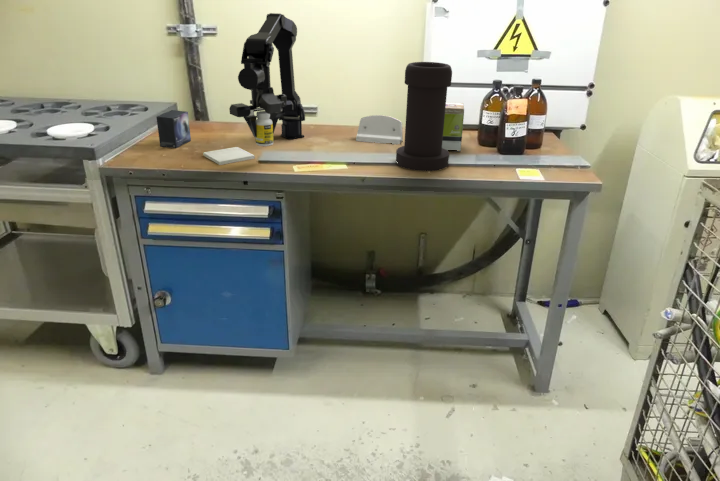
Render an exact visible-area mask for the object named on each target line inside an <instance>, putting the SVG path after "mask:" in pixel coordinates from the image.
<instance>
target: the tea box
mask: <svg viewBox="0 0 720 481" xmlns="http://www.w3.org/2000/svg"><path fill="white" fill-rule="evenodd" d="M464 106H465V105H464V103H463V102H446V108H445V119H444V130H443V141H442V148H443V149H446V150H447V151H448V150H457V151H456V152H462V150H461V149H462V140H463V130H464V119H465V118H464V117H465V107H464ZM458 150H459V151H458Z"/></svg>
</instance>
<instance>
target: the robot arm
mask: <svg viewBox="0 0 720 481" xmlns="http://www.w3.org/2000/svg"><path fill="white" fill-rule="evenodd" d="M297 35H298V27H297V25H296V23H295V22H294V21H293V20H292V19H290V18H288V17H286V16H285V14H282V13H275V12H273V13H272V12H270V13H267V14H266V19H265V21H264V23H263V24H262V25H261V27H260V28H259V30H258V32H257V33H253V34H251V35H250V36H248V37H247V38H246V40H245V42H244V43H243V48H242V54H241V60H240V64H241V65H243V68H242V69H241V70H240V71H239V72H238V76H237V81H238V83H239V86H241V87H242V88H243V89H244V90H248V91H250V93H251V99H250V100H249V104H250V105H247V104H245V103H242V102H241V103H240V102H239V103H233V104H232V103H231V104H230V106H229V108H228V109H229V114H230V115H232V116H234V117H237V118H243V119H244V121H245V122H246V124H247V125H248V128H249V130H250V132H251V134H252V136H253V138H255V137H257V130H256V119H258V118H257V115H256V114H255V112H259V111H265V112H266V113H268V114H270V118H269V119H271V120H272V122H273V135H274V134H275V130H276V127H277V123H278V121H281V123H282V124H281V125H280V126H281V134H280V136H281V137H283V138H285V139H287V140H293V139H300V138H304V137H305V135H304V134H303V132H302V131H303V129H302V127H303V126H302V123H303V122H305V121H306V113H305V109H304V107H303V104H302V102H301V97H300V95H299V94H298V93H297V92H296V86H295V73H294V60H293V47H294V45H295V43H296V40H297V37H298V36H297ZM275 48H276V50H277V55H278V66H279V76H280V87H281V93H280V94H276V95H275V93H274V92H275V91H274V88H273V87H272V86H271V70H270V66H271V63H272V60H273V55H274V51H275Z"/></svg>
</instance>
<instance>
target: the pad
mask: <svg viewBox="0 0 720 481" xmlns="http://www.w3.org/2000/svg"><path fill="white" fill-rule="evenodd" d="M202 154H203V156H204V157H205V158H207V159H209V160H210V161H212V162H214V163H215V164H218V165H219V166H221V165H227V164H232V163H238V162H243V161H248V160H255V158H256V157H255V155H254V154H252V153H250V152H249V151H246V150H245V149H242V148H241V147H239V146H234V147H228V148H222V149H215V150H210V151H205V152H203V153H202Z"/></svg>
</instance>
